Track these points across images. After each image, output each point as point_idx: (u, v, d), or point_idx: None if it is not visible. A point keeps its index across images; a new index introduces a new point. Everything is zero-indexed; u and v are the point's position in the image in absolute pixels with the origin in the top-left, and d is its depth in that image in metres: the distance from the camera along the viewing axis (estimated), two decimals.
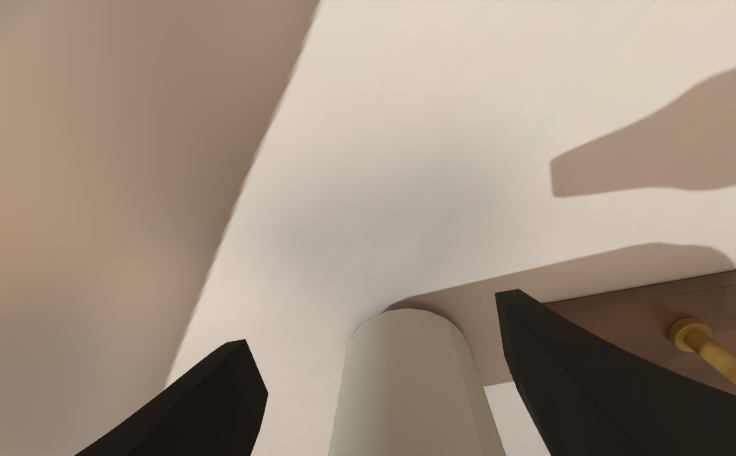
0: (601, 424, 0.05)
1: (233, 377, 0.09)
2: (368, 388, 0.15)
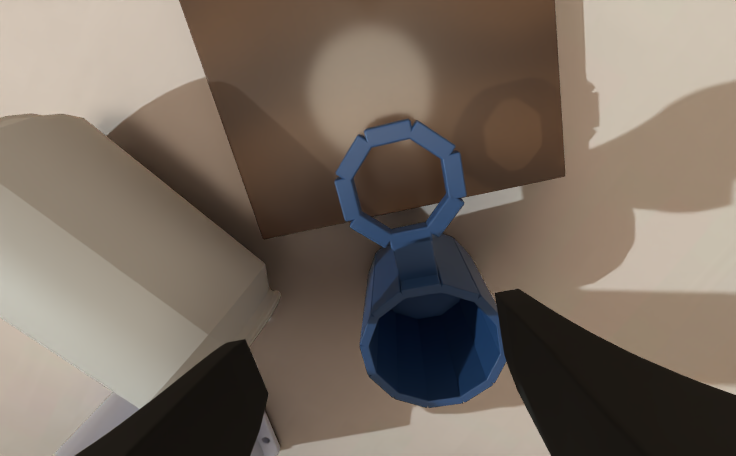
0: (600, 424, 0.05)
1: (233, 377, 0.09)
2: (43, 343, 0.13)
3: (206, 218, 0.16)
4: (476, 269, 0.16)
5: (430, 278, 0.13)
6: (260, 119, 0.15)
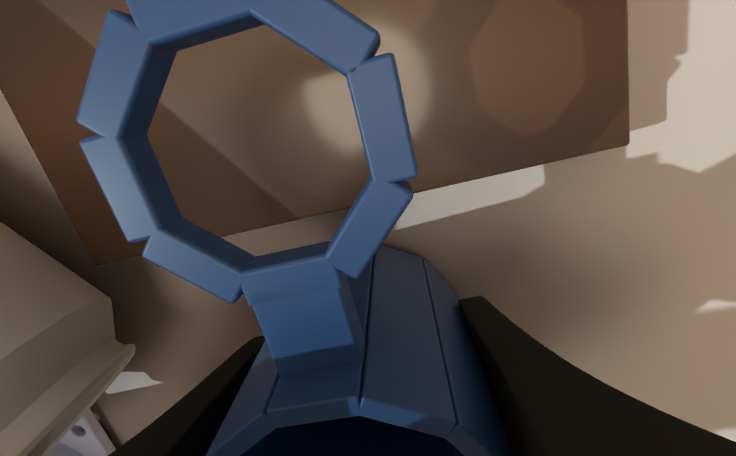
0: (527, 434, 0.05)
1: None
2: None
3: None
4: (461, 320, 0.09)
5: (342, 374, 0.05)
6: (47, 42, 0.08)
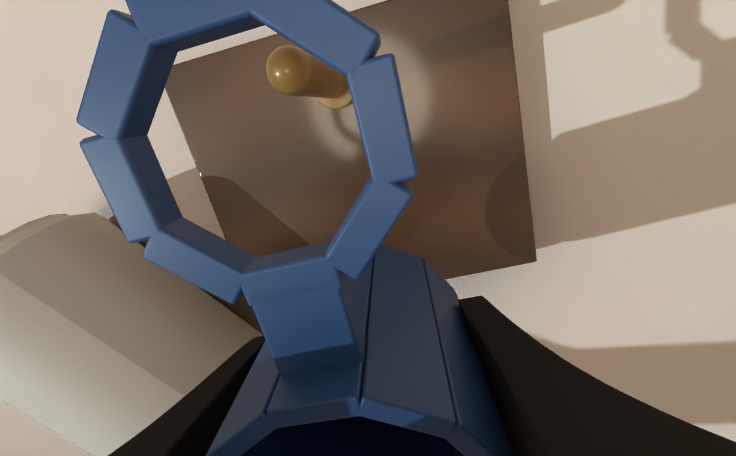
0: (527, 434, 0.05)
1: None
2: (58, 433, 0.14)
3: (208, 298, 0.17)
4: (461, 320, 0.09)
5: (343, 374, 0.05)
6: (251, 212, 0.17)
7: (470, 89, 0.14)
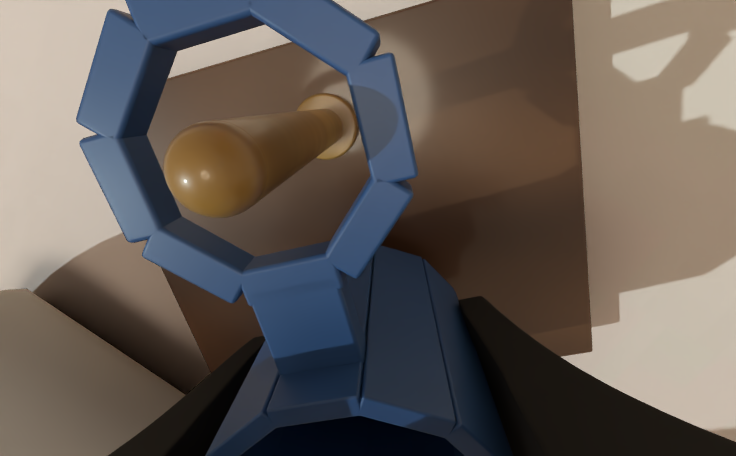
0: (527, 434, 0.05)
1: None
2: None
3: (161, 395, 0.13)
4: (461, 320, 0.09)
5: (343, 373, 0.05)
6: None
7: (513, 133, 0.10)
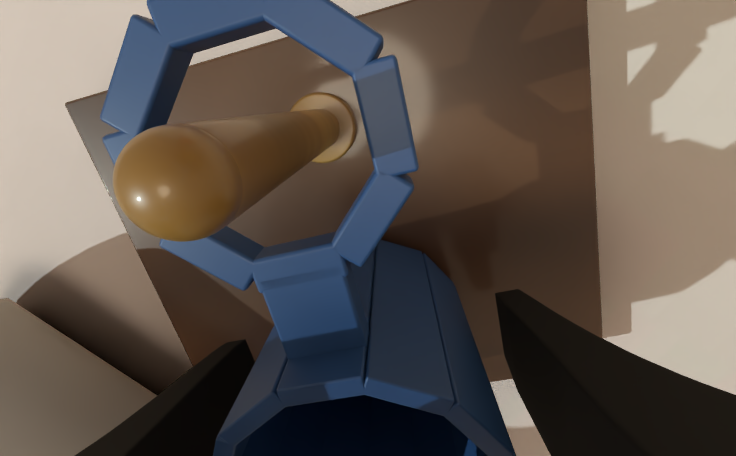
0: (600, 424, 0.05)
1: (233, 377, 0.09)
2: None
3: None
4: (460, 311, 0.09)
5: (347, 357, 0.06)
6: (208, 296, 0.12)
7: (522, 134, 0.10)
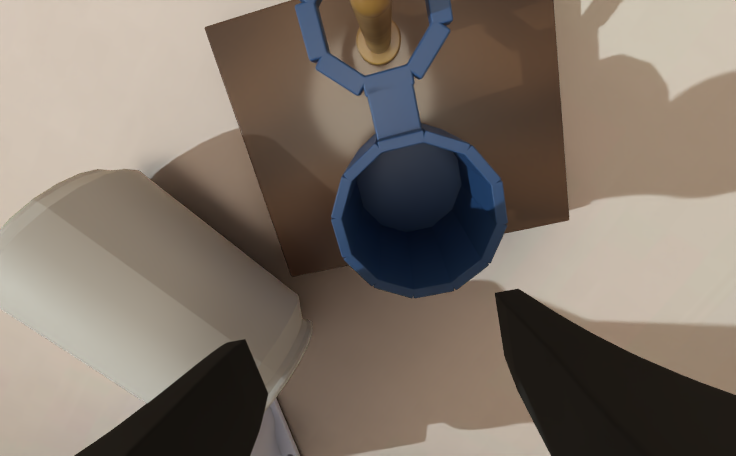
0: (600, 424, 0.05)
1: (233, 377, 0.09)
2: (111, 376, 0.14)
3: (246, 256, 0.17)
4: None
5: (412, 131, 0.11)
6: (290, 171, 0.17)
7: (510, 45, 0.15)
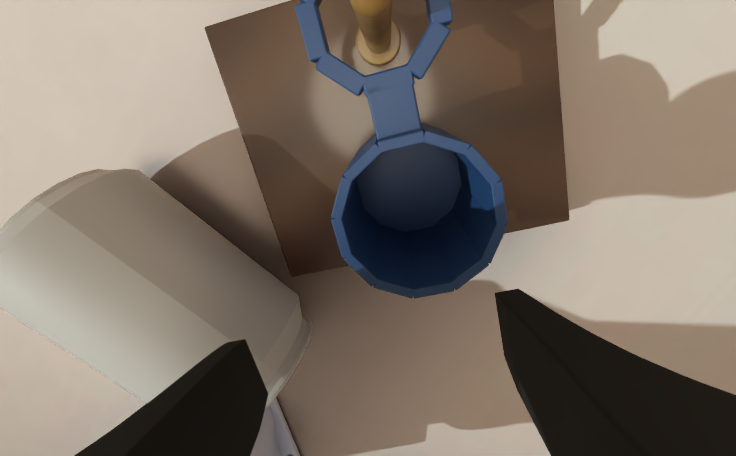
0: (600, 424, 0.05)
1: (233, 377, 0.09)
2: (111, 376, 0.14)
3: (246, 256, 0.17)
4: None
5: (412, 131, 0.11)
6: (290, 171, 0.17)
7: (510, 45, 0.15)
